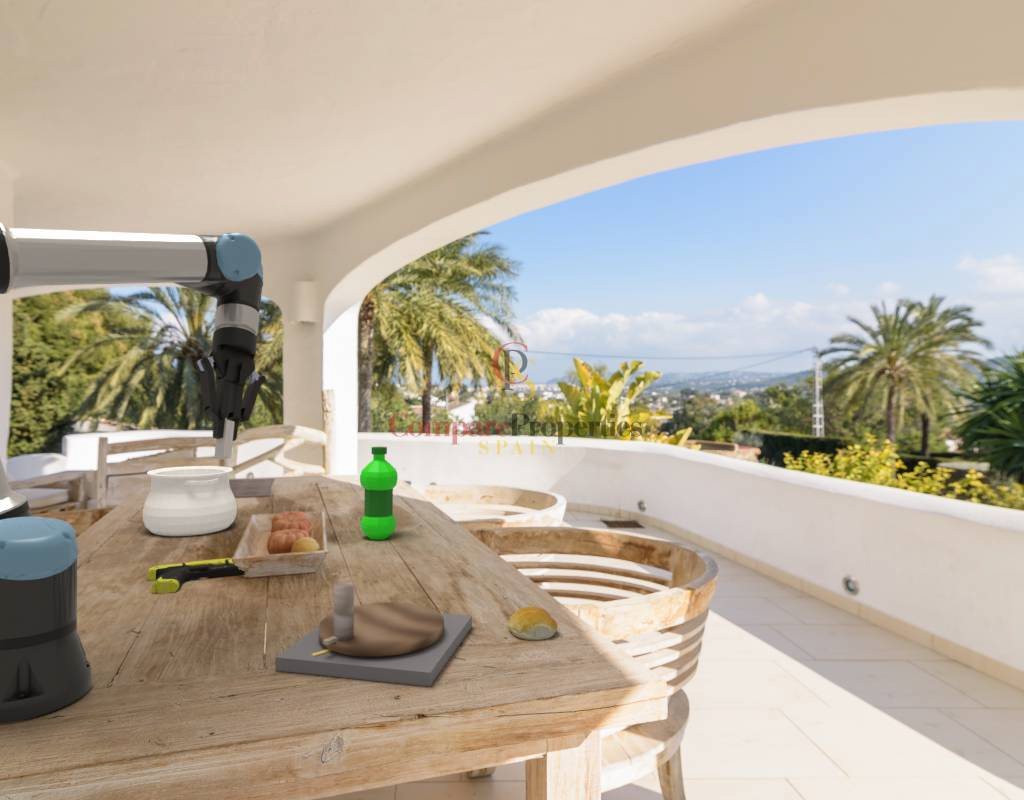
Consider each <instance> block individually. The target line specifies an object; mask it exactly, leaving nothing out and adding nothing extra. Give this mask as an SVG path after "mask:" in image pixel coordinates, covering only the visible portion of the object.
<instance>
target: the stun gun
mask: <svg viewBox="0 0 1024 800" xmlns="http://www.w3.org/2000/svg"><path fill="white" fill-rule="evenodd" d="M232 558H233V557H229V558H228V557H227V558H216V559H206V560H196V561H195V560H194V561H188V562H187V561H186V562H180V563H168V564H161V565H160V564H159V565H155V566H152V567H149V568H148V571H147V579H148V581H153V582H152V584H151V592H152V593H153V594H154V595H155V594H170V593H172V594H173V593H176V592H177V591H178V590H179V589H180V587H182V585H183V583H185V582H188V581H190V580H194V579H203V578H208V579H214V578H215V579H217V578H223V577H230V576H231V577H233V576H234V577H235V576H242V575H245V571H242V570H239V569H238V567H237V566H235V565H234V564H233V562H232Z"/></svg>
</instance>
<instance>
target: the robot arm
mask: <svg viewBox="0 0 1024 800" xmlns="http://www.w3.org/2000/svg"><path fill="white" fill-rule="evenodd" d="M161 283H163V284H164V283H165V284H166V283H167V284H169V283H170V284H172V283H173V284H176V285H179V286H182V287H183V288H187V289H190V290H193V291H194V292H198V293H200V294H203V295H206V296H208V297H211V298H214V299H216V307H215V308H216V309H215V317H214V325H213V326H214V328H213V329H214V331H213V333H212V342H211V350H212V351H211V353H209V355H208V357H205V356H204V357H203V358H200V359H198V360H196V361H195V363H194V366H195V368H196V370H197V372H198V374H199V381H200V391H201V400H202V406H203V407H202V408H203V410H202V411H203V414H204V415H205V416H208V417H210V421H211V422H212V423H213V428H212V439H215V447H214V456H213V457H214V458H213V459H214V460H219V461H222V460H223V461H224V460H227V459H230V458H232V449H233V442H235V441H236V440H237V439H238V431H239V430H238V429H239V424H242V423H244V422H245V423H246V422H247V421H250V418H251V415H252V413H253V410H254V406H255V404H256V401H257V398H258V394H259V392H260V389H261V387H262V385H263V384H264V383H265V382H266V380H267V378H266V376H265V375H260V374H259V373H258V372H257V371H256V364H255V356H256V354H257V353H256V352H257V343H258V337H257V336H258V334H259V326H260V325H259V324H260V323H259V322H260V310H261V302H262V291H263V290H262V289H263V287H264V268H263V264H262V253H261V249H260V247H259V245H258V244H257V242H256V241H255V240H254V239H253V238H252V237H251V236H250V235H248V234H245V233H241V232H227V233H224V234H220V235H217V234H216V235H215V234H190V233H187V234H186V233H164V232H162V233H161V232H135V231H113V230H112V231H109V230H84V229H83V230H81V229H60V228H59V229H57V228H35V227H34V228H33V227H32V228H31V227H30V228H29V227H8V226H6V225H5V224H4V223H2V222H1V221H0V295H6V294H8V293H10V291H11V290H13V289H14V288H15V287H22V286H24V287H25V286H26V287H29V286H31V287H32V286H37V287H38V286H69V285H70V286H73V285H75V286H77V285H79V286H80V285H83V286H84V285H121V284H123V285H124V284H125V285H126V284H161ZM215 375H216V376H215ZM247 379H248V380H247ZM246 381H248V384H247V386H246ZM245 386H246V389H245V391H244V387H245ZM78 556H79V544H78V541H77V533H76V530H75V528H74V527H73V526H72V524H70V523H69V522H67V521H65V520H62V519H59V518H55V517H48V518H47V517H44V516H33V515H32V510H31V508H30V505H29V501H28V499H27V496H26V495H24V494H21V493H18V492H17V491H14V490H13V489H11V486H10V484H9V481H8V477H7V474H6V471H5V467H4V465H3V462H2V459H1V457H0V724H6V723H13V722H17V721H18V722H19V721H24V720H27V719H31V718H36V717H39V716H42V715H45V714H49V713H52V712H55V711H57V710H60V709H61V708H65V707H66V706H68V705H70V704H73V703H75V702H76V701H77V700H79V699H81V698H82V697H83V696H85V695H86V694H87V693H88V692H89V691H90V690H91V688H92V685H93V669H92V666H91V663H90V662H89V660H87V655H86V651H85V649H84V646H83V643H82V641H81V638H80V636H79V634H78Z"/></svg>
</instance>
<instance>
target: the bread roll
mask: <svg viewBox="0 0 1024 800" xmlns="http://www.w3.org/2000/svg"><path fill="white" fill-rule="evenodd" d="M507 624H508V625H507V626H508V627H507V628H508V629H509V631H510V632H511V633H512V635H513V636H515V637H516V638H518V639H522V640H528V641H540V640H547V639H550V638H552V637H553V636H554V635H555V634H556V632H557V631H558V622H557V621H556V620H555V619H554V618H553V617H552V616H551V615H550V613H549V612H547V610H546V609H543V608H541V607H536V606H526V607H521V608H519V609H518V610H515V612H514V613H513V614H512V615H511V616H510V618H509V619H508V623H507Z"/></svg>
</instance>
